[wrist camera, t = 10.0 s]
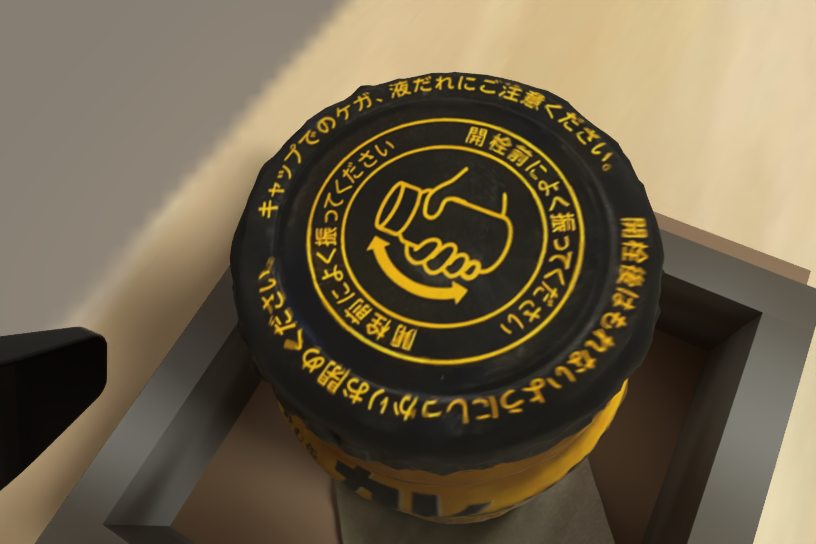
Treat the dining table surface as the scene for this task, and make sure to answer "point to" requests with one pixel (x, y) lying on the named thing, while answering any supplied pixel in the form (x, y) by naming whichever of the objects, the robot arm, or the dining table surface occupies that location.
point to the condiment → (451, 306)
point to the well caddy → (615, 480)
